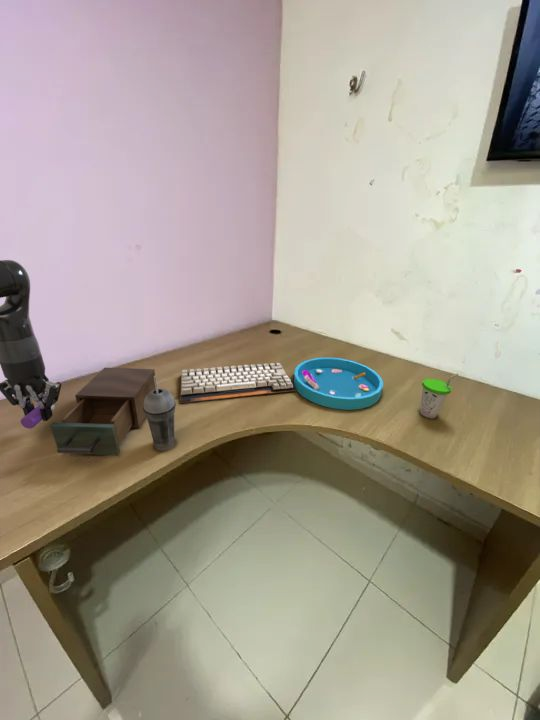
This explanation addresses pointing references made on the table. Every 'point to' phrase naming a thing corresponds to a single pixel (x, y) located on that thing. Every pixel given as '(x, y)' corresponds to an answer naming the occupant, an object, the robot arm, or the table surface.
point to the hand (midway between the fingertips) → (40, 418)
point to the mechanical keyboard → (233, 382)
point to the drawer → (94, 427)
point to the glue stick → (33, 417)
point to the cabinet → (121, 388)
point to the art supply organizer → (338, 383)
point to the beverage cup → (160, 417)
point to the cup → (434, 396)
